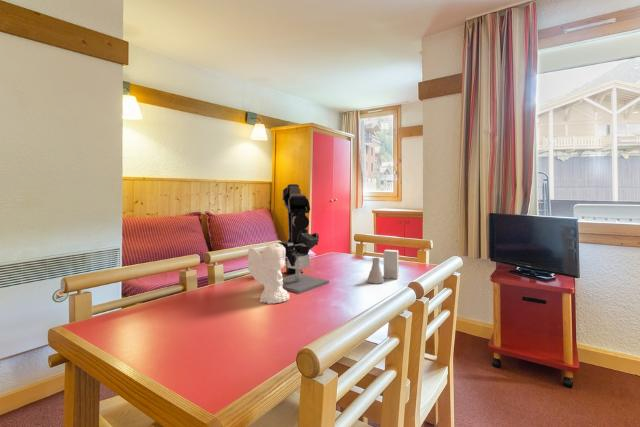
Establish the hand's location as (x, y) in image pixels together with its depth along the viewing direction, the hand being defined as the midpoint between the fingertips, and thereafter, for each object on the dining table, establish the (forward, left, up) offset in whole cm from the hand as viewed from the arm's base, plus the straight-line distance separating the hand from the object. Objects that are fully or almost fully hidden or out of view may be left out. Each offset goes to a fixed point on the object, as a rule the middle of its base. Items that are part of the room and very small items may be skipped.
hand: (298, 264), depth 137 cm
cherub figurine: (+5, -20, -8) cm, 22 cm away
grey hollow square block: (0, 0, -1) cm, 1 cm away
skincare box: (+25, +33, -8) cm, 42 cm away
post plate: (0, 0, -8) cm, 8 cm away
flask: (+23, +23, -8) cm, 34 cm away
